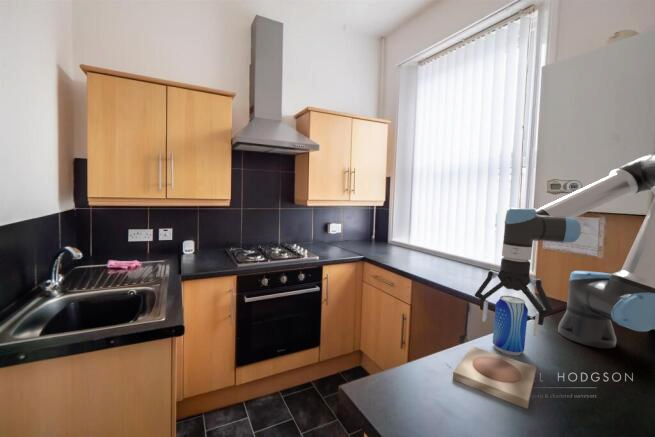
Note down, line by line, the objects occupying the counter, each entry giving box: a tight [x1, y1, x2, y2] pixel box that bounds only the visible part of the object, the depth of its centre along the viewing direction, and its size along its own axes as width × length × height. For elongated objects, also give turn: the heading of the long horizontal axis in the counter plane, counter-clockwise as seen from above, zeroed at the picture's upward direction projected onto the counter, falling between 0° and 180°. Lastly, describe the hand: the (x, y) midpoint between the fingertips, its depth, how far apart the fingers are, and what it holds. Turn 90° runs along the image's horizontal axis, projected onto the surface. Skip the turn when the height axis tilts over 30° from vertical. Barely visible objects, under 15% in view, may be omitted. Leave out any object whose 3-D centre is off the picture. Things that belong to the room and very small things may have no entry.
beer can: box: [492, 295, 529, 356], centre depth 93 cm, size 8×8×16 cm
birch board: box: [452, 345, 537, 410], centre depth 79 cm, size 16×18×2 cm
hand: (508, 327), depth 93 cm, fingers open, 13 cm apart
